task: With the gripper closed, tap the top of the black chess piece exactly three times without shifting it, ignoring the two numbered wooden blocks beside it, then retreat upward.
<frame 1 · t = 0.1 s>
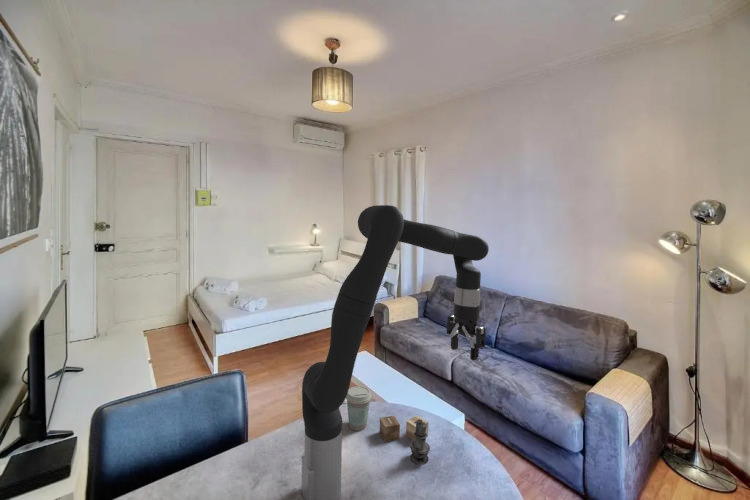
hand: (463, 354, 104), 29 cm above the table, fingers open, 8 cm apart
black chess piece: (419, 458, 100), on the table
beech block digit: (416, 436, 111), on the table
walnut block digit: (389, 435, 110), on the table
coffee cup: (357, 426, 115), on the table
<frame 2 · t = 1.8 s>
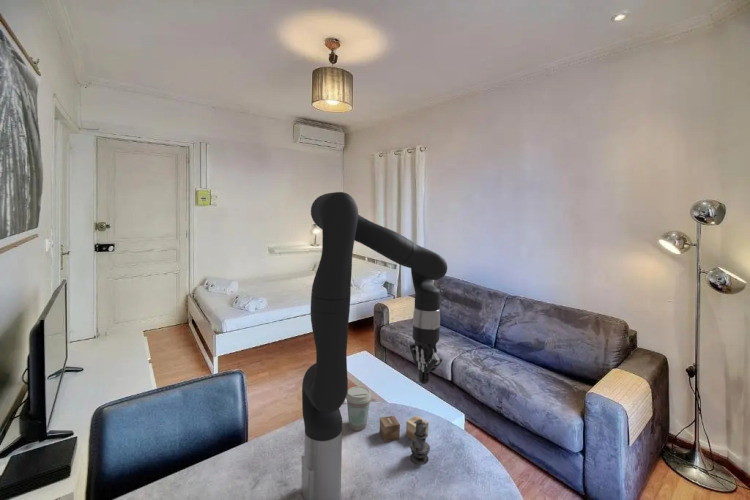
hand: (423, 382, 98), 23 cm above the table, fingers closed
nothing on the table moved.
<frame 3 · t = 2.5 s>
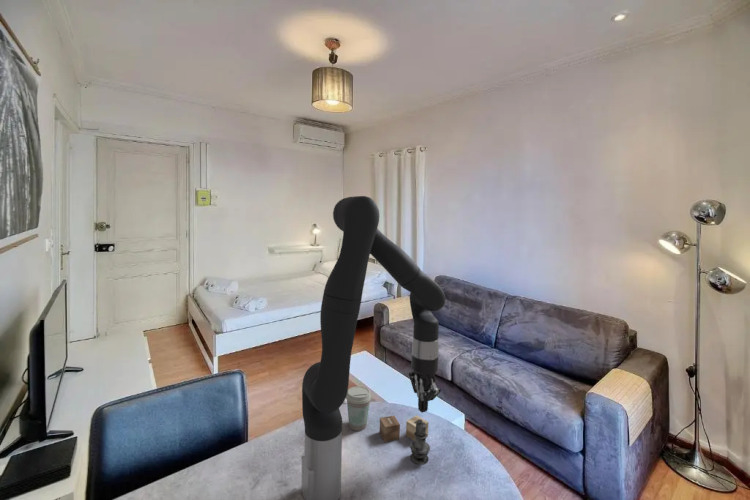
hand: (422, 410, 99), 15 cm above the table, fingers closed
nothing on the table moved.
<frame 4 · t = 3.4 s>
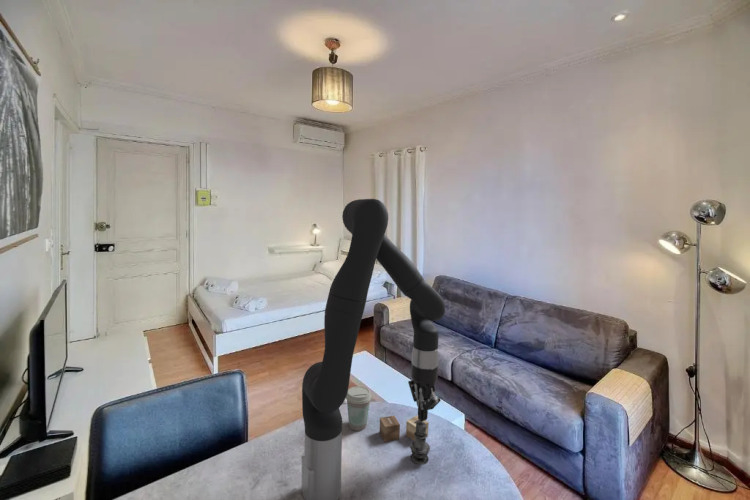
hand: (422, 419, 99), 12 cm above the table, fingers closed
black chess piece: (419, 458, 100), on the table, touching gripper
everything else where it was.
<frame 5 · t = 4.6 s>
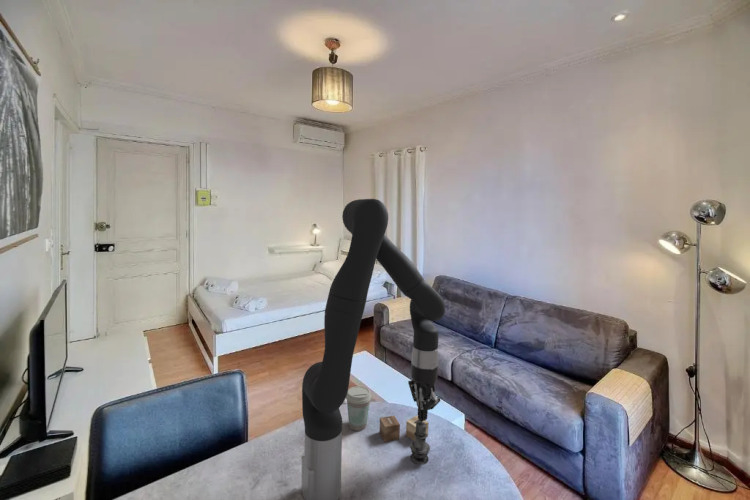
hand: (422, 419, 99), 12 cm above the table, fingers closed
nothing on the table moved.
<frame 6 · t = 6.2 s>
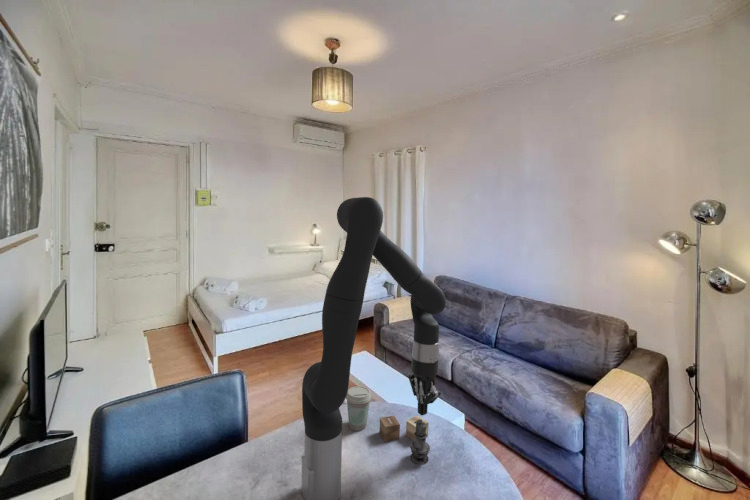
hand: (422, 413, 99), 14 cm above the table, fingers closed
black chess piece: (419, 458, 100), on the table
everything else where it was.
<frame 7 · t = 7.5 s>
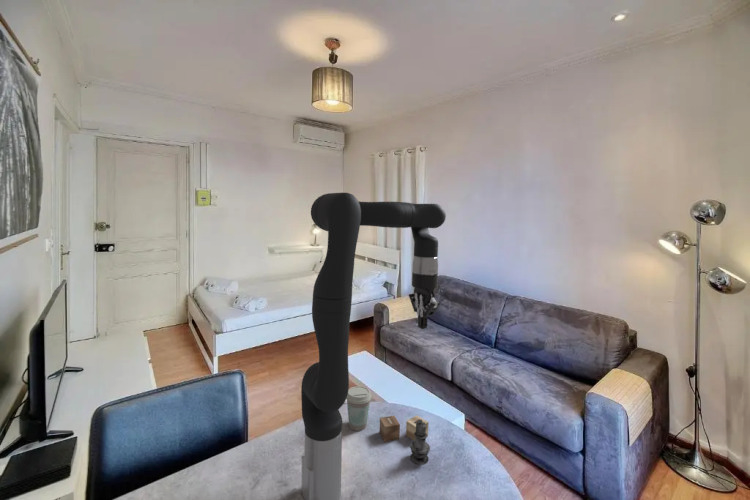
hand: (422, 328, 103), 37 cm above the table, fingers closed
nothing on the table moved.
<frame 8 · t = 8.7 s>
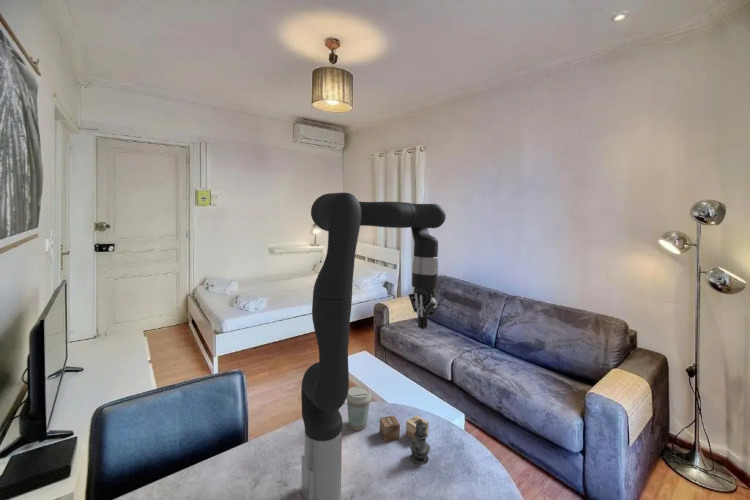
hand: (422, 328, 103), 37 cm above the table, fingers closed
nothing on the table moved.
at the end: black chess piece moved 0.2 cm from its start; black chess piece tilted 0°; the gripper is holding nothing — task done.
